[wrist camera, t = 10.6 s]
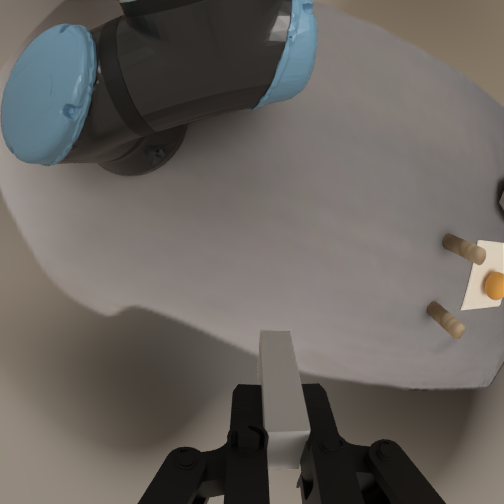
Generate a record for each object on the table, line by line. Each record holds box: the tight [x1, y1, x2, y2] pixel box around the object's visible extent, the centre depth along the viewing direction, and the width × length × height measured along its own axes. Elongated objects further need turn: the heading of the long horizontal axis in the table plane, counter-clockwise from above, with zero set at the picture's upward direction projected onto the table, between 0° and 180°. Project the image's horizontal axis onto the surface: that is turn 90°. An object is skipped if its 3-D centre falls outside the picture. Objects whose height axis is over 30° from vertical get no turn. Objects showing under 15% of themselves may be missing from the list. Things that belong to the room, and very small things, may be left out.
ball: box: [485, 272, 504, 300], centre depth 39 cm, size 6×6×6 cm
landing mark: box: [460, 240, 504, 310], centre depth 42 cm, size 14×14×1 cm
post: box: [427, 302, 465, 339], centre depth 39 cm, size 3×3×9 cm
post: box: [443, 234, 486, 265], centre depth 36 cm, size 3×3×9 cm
